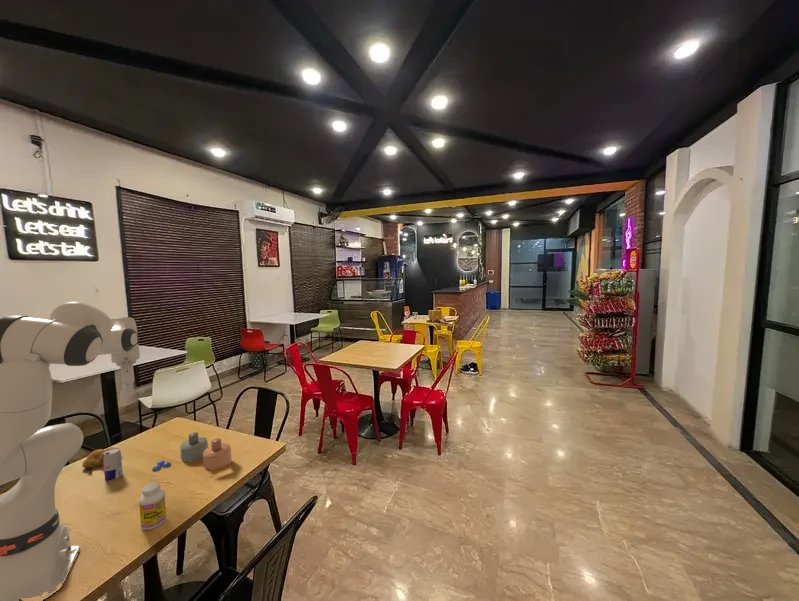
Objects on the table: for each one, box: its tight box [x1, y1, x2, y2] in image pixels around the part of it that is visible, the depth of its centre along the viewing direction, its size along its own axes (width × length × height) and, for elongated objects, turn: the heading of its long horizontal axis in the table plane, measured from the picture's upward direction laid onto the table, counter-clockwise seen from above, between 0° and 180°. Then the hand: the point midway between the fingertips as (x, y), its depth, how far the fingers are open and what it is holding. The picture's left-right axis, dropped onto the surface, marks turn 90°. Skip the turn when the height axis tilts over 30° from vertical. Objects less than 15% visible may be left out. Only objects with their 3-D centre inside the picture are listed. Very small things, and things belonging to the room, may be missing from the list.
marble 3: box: [161, 461, 172, 469], centre depth 135 cm, size 3×3×3 cm
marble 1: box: [152, 464, 162, 472], centre depth 132 cm, size 3×3×3 cm
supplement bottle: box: [138, 481, 167, 531], centre depth 105 cm, size 7×7×13 cm
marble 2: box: [156, 459, 166, 467], centre depth 136 cm, size 3×3×3 cm
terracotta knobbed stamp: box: [202, 438, 232, 471], centre depth 136 cm, size 10×10×11 cm
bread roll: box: [81, 446, 114, 470], centre depth 138 cm, size 13×10×8 cm
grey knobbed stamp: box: [179, 431, 209, 463], centre depth 142 cm, size 10×10×11 cm
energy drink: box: [103, 447, 124, 482], centre depth 128 cm, size 5×5×12 cm
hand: (128, 388), depth 132 cm, fingers open, 8 cm apart
